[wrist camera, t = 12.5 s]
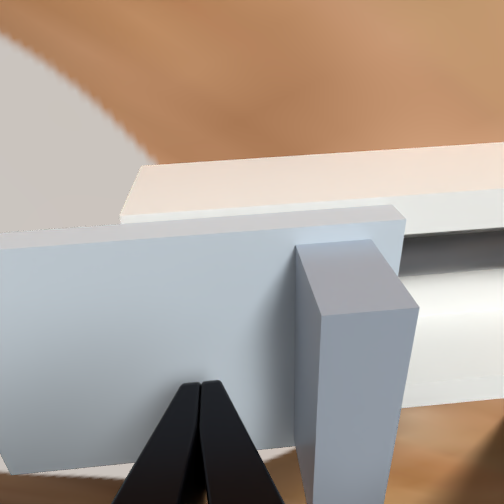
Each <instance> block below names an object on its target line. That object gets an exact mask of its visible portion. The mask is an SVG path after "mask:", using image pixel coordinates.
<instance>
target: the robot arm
mask: <svg viewBox="0 0 504 504" xmlns="http://www.w3.org/2000/svg"><path fill="white" fill-rule="evenodd" d="M206 498H207V500H208V504H285V503H284V501H283V499H282V497H281V496H280V494H279V492H278V490H277V488H276V486H275V484H274V482H273V480H272V478H271V476H270V474H269V472H268V470H267V469H266V467H265V465H264V463H263V461H262V459H261V457H260V455H259V454H258V451H257V449H256V447H255V445H254V443H253V442H252V440H251V438H250V436H249V434H248V432H247V430H246V428H245V426H244V424H243V422H242V420H241V418H240V416H239V415H238V413H237V411H236V409H235V407H234V405H233V403H232V401H231V399H230V397H229V395H228V393H227V391H226V389H225V388H224V386H223V384H222V382H221V381H220V380H210V381H203V382H202V384H201V383H200V382H189V383H183V384H181V386H180V387H179V389H178V390H177V392H176V394H175V395H174V397H173V399H172V401H171V402H170V404H169V406H168V407H167V409H166V411H165V413H164V414H163V416H162V418H161V419H160V421H159V423H158V425H157V426H156V428H155V430H154V431H153V433H152V435H151V436H150V438H149V440H148V442H147V443H146V445H145V447H144V448H143V450H142V452H141V454H140V455H139V457H138V459H137V460H136V462H135V464H134V465H133V467H132V469H131V471H130V473H129V474H128V476H127V477H126V479H125V481H124V483H123V484H122V486H121V488H120V489H119V491H118V493H117V494H116V496H115V498H114V500H113V501H112V503H111V504H206Z"/></svg>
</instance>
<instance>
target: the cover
mask: <svg viewBox="0 0 504 504" xmlns="http://www.w3.org/2000/svg"><path fill="white" fill-rule="evenodd" d="M405 226H406V218H405V217H404V216H403V215H402V214H401V213H400V212H399V211H398V210H397V209H396V208H395V207H394V206H393V205H392V204H388V205H375V206H361V207H347V208H333V209H320V210H306V211H292V212H278V213H264V214H251V215H237V216H223V217H209V218H196V219H182V220H168V221H154V222H140V223H127V224H113V225H99V226H85V227H72V228H58V229H44V230H32V231H31V230H30V231H17V232H4V233H0V454H1V456H2V458H3V460H4V462H5V464H6V466H7V468H8V470H9V472H10V474H11V475H18V474H28V473H38V472H47V471H57V470H66V469H77V468H86V467H95V466H106V465H116V464H126V463H135V462H136V460H137V459H138V457H139V455H140V454H141V452H142V450H143V448H144V447H145V445H146V443H147V442H148V440H149V438H150V436H151V435H152V433H153V431H154V430H155V428H156V426H157V425H158V423H159V421H160V419H161V418H162V416H163V414H164V413H165V411H166V409H167V407H168V406H169V404H170V402H171V401H172V399H173V397H174V395H175V394H176V392H177V390H178V389H179V387H180V386H181V384H183V383H189V382H200V383H201V384H202V382H203V381H210V380H220V381H221V382H222V384H223V386H224V388H225V389H226V391H227V393H228V395H229V397H230V399H231V401H232V403H233V405H234V407H235V409H236V411H237V413H238V415H239V416H240V418H241V420H242V422H243V424H244V426H245V428H246V430H247V432H248V434H249V436H250V438H251V440H252V442H253V443H254V445H255V447H256V449H257V450H262V449H272V448H282V447H292V446H296V451H297V456H298V461H299V466H300V471H301V476H302V481H303V486H304V492H305V497H306V502H307V504H384V499H385V493H386V488H387V483H388V477H389V472H390V466H391V461H392V455H393V450H394V444H395V439H396V434H397V428H398V423H399V417H400V412H401V406H402V401H403V396H404V390H405V385H406V379H407V374H408V368H409V363H410V357H411V352H412V347H413V341H414V336H415V330H416V325H417V319H418V314H419V308H420V307H419V306H418V304H417V303H416V302H415V300H414V299H413V297H412V296H411V294H410V293H409V292H408V290H407V289H406V287H405V286H404V285H403V283H402V282H401V280H400V279H399V278H398V273H399V266H400V260H401V253H402V246H403V239H404V233H405Z"/></svg>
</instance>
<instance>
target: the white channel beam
mask: <svg viewBox="0 0 504 504" xmlns="http://www.w3.org/2000/svg"><path fill="white" fill-rule="evenodd" d="M388 204H392V205H393V206H394V207H395V208H396V209H397V210H398V211H399V212H400V213H401V214H402V215H403V216H404V217H405V218H406V226H405V233H404V239H403V246H402V253H401V260H400V266H399V273H398V278H399V279H400V280H401V282H402V283H403V285H404V286H405V287H406V289H407V290H408V292H409V293H410V294H411V296H412V297H413V299H414V300H415V302H416V303H417V304H418V306H419V307H420V308H419V314H418V319H417V325H416V330H415V336H414V341H413V347H412V352H411V357H410V363H409V368H408V374H407V379H406V385H405V390H404V396H403V401H402V406H401V408H408V407H418V406H428V405H438V404H448V403H458V402H468V401H479V400H489V399H499V398H504V142H498V143H483V144H467V145H452V146H437V147H422V148H406V149H391V150H376V151H361V152H345V153H330V154H315V155H299V156H284V157H269V158H254V159H238V160H223V161H208V162H193V163H177V164H162V165H148V166H141V168H140V170H139V172H138V174H137V177H136V179H135V181H134V183H133V186H132V188H131V190H130V192H129V195H128V197H127V199H126V201H125V204H124V206H123V208H122V210H121V213H120V215H119V218H120V223H121V224H127V223H140V222H154V221H168V220H182V219H196V218H209V217H223V216H237V215H251V214H264V213H278V212H292V211H306V210H320V209H333V208H347V207H361V206H375V205H388Z"/></svg>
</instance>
